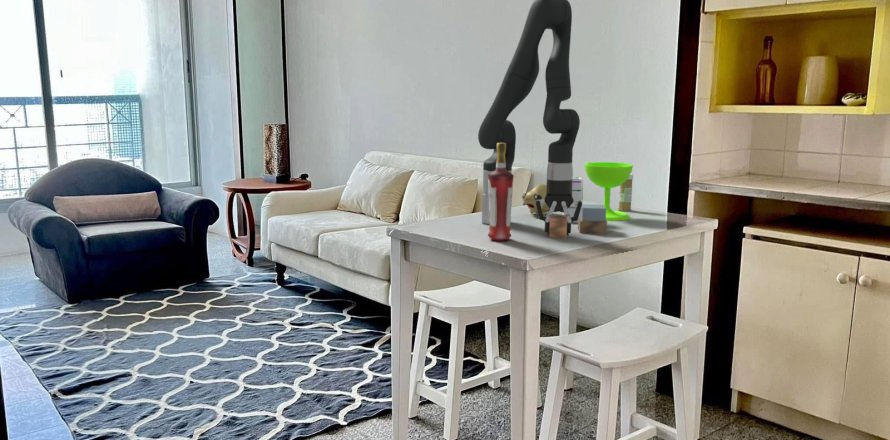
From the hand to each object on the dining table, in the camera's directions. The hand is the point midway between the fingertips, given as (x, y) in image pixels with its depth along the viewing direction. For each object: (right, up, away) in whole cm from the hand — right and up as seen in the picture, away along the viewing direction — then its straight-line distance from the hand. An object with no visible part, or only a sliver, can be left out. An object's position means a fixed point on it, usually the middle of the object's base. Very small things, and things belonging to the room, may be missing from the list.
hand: (557, 234), depth 217 cm
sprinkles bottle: (+31, +7, +46) cm, 56 cm away
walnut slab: (+12, +1, +9) cm, 15 cm away
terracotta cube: (0, -1, 0) cm, 1 cm away
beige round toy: (-1, +6, +37) cm, 37 cm away
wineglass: (+22, +5, +33) cm, 40 cm away
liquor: (-18, -2, -5) cm, 18 cm away
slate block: (+12, +4, +8) cm, 15 cm away
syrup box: (+9, +4, +25) cm, 27 cm away
